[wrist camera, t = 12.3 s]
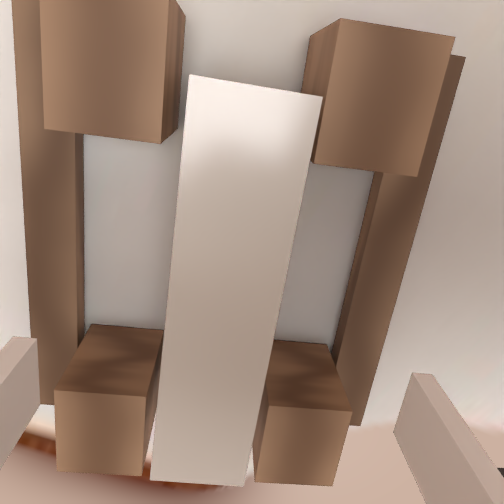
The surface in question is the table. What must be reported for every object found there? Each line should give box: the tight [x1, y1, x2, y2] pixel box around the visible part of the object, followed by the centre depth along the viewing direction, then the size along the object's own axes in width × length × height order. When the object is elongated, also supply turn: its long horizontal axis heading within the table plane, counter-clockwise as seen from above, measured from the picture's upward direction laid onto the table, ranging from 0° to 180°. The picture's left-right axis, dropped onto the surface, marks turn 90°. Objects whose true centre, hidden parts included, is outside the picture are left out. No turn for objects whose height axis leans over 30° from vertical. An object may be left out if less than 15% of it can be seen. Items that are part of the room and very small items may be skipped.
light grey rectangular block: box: [150, 74, 323, 486], centre depth 24 cm, size 5×20×10 cm, turn 171°
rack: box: [12, 0, 466, 486], centre depth 25 cm, size 24×26×7 cm
